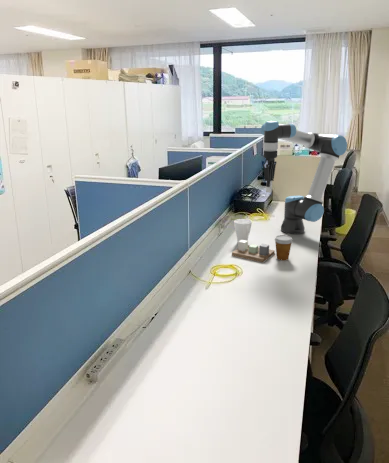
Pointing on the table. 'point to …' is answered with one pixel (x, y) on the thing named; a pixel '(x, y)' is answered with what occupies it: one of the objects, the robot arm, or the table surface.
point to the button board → (252, 255)
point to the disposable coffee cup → (283, 246)
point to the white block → (242, 245)
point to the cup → (242, 229)
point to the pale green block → (253, 248)
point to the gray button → (264, 249)
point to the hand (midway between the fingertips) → (268, 192)
